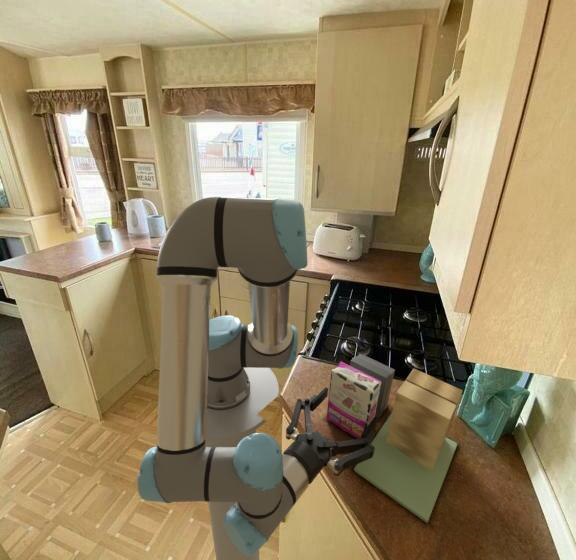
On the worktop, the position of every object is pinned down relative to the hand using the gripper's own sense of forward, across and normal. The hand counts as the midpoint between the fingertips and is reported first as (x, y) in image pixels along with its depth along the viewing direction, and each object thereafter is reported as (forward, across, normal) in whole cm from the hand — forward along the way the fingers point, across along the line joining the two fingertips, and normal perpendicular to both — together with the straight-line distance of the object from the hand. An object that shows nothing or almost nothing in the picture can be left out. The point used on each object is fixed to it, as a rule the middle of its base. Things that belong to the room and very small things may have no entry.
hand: (349, 405), depth 76 cm
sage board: (+2, +15, -8) cm, 17 cm away
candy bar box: (+1, 0, -8) cm, 8 cm away
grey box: (+11, 0, -8) cm, 13 cm away
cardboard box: (+7, +15, -7) cm, 18 cm away
